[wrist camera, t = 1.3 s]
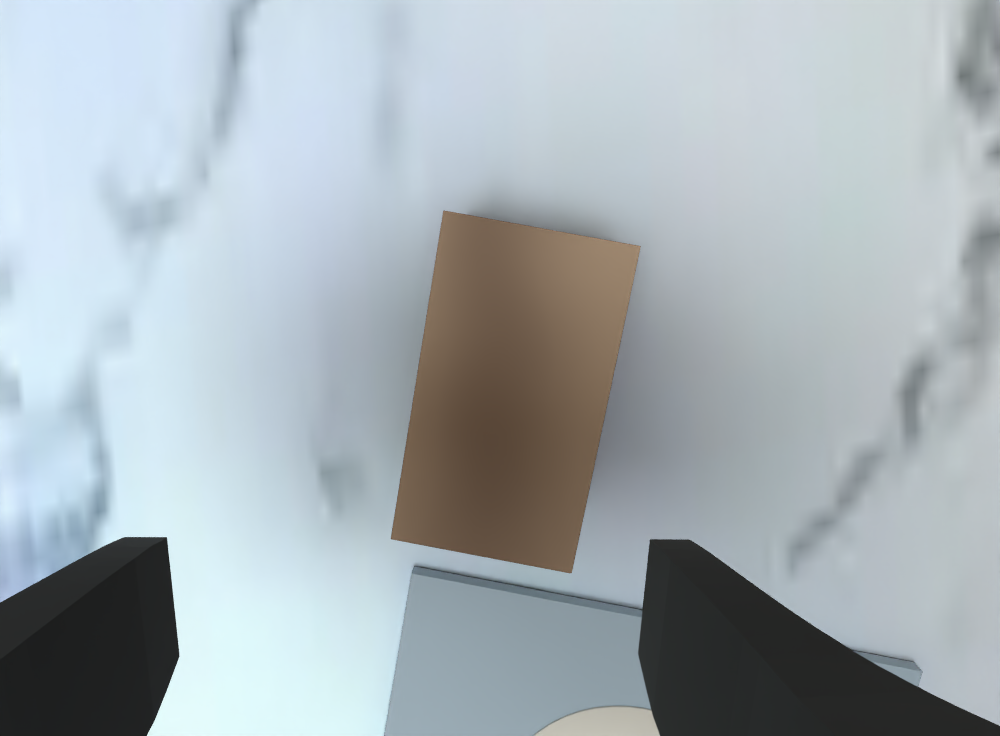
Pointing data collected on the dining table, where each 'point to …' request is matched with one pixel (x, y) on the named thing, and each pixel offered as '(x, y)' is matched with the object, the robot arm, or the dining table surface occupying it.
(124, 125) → the dining table surface
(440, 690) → the rubber mat
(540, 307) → the walnut block
